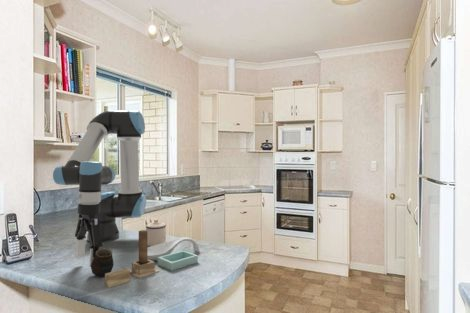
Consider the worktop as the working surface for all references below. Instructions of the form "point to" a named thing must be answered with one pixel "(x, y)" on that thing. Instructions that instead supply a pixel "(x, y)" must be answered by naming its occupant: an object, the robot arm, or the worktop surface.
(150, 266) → the socket block
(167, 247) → the spoon rest
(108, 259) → the mate gourd
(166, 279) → the worktop surface
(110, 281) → the block
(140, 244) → the dowel
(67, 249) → the worktop surface
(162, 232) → the beige lidded jar
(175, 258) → the tray
